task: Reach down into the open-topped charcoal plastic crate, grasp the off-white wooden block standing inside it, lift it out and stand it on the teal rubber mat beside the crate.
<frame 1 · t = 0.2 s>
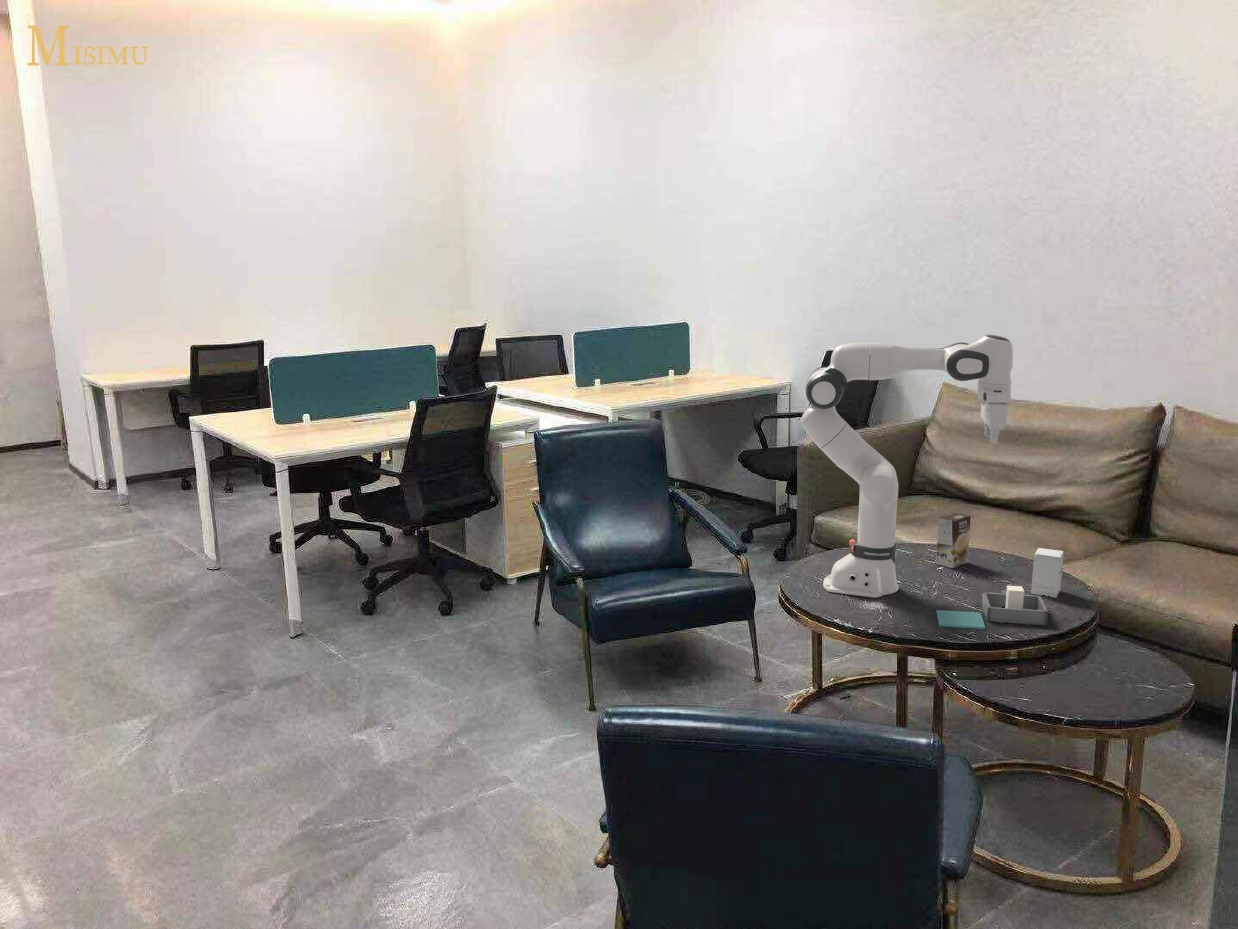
hand: (990, 439, 286), 47 cm above the table, tool pointing down, fingers open, 8 cm apart
supplement box: (1045, 593, 297), on the table
coffee box: (951, 564, 325), on the table
mat: (960, 620, 277), on the table
block: (1014, 601, 279), in the crate
crate: (1013, 615, 280), on the table
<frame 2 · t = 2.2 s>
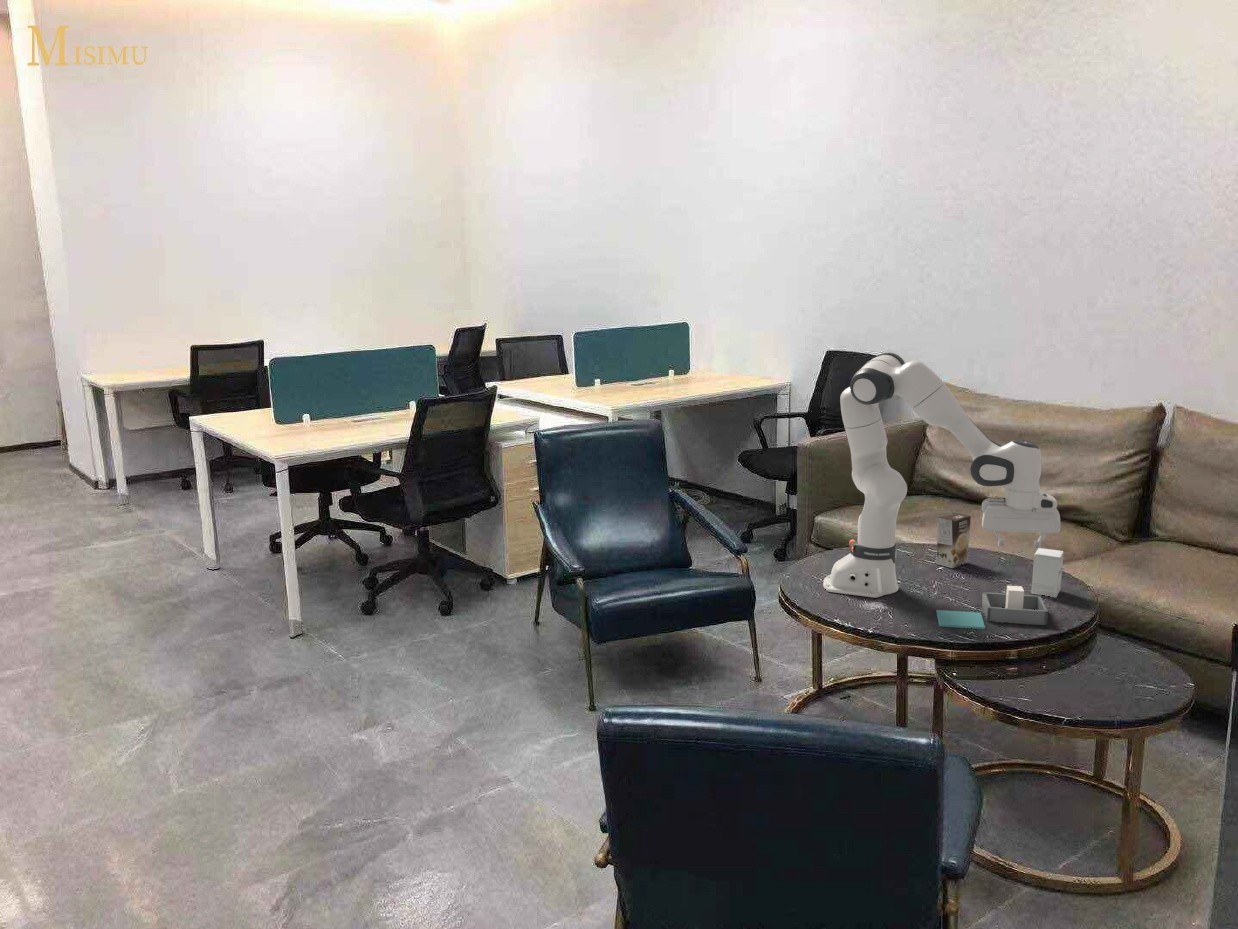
hand: (1019, 546, 275), 20 cm above the table, tool pointing down, fingers open, 8 cm apart
nothing on the table moved.
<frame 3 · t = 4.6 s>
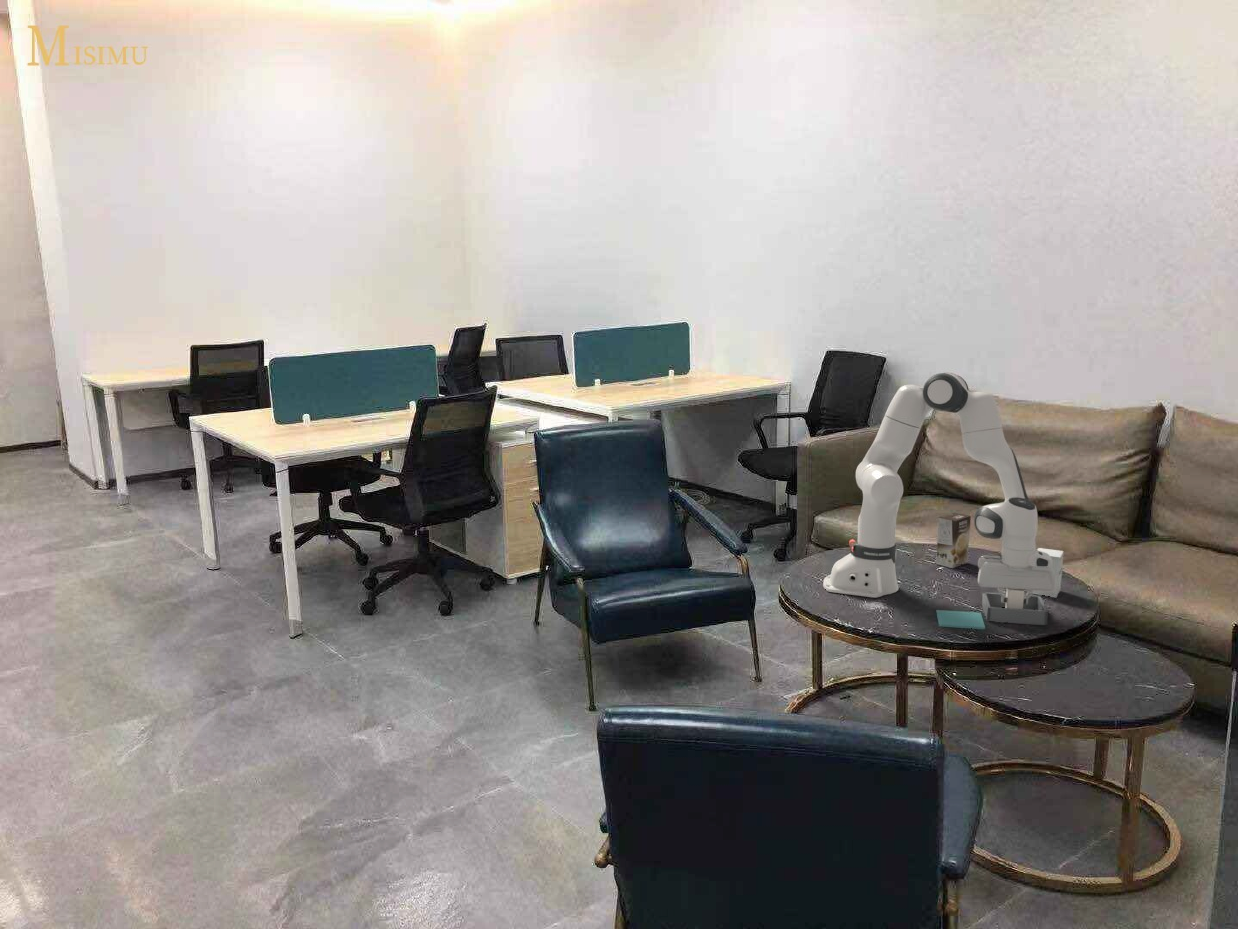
hand: (1014, 603, 279), 4 cm above the table, tool pointing down, fingers closed on block, 4 cm apart
block: (1014, 601, 279), in the crate, touching gripper
everything else where it was.
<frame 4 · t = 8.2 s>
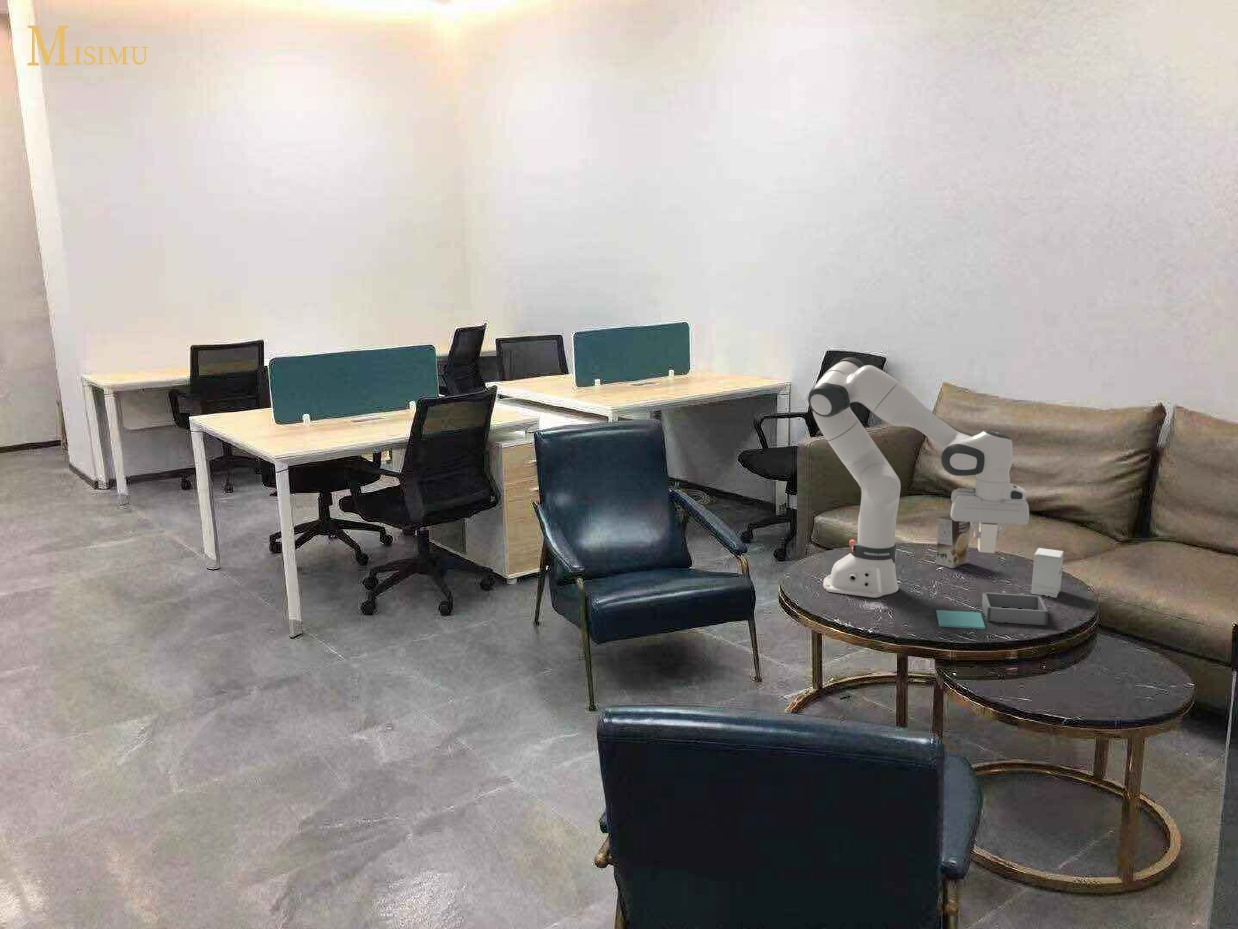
hand: (987, 538, 274), 23 cm above the table, tool pointing down, fingers closed on block, 4 cm apart
block: (987, 536, 273), point 24 cm above the table, touching gripper
everything else where it was.
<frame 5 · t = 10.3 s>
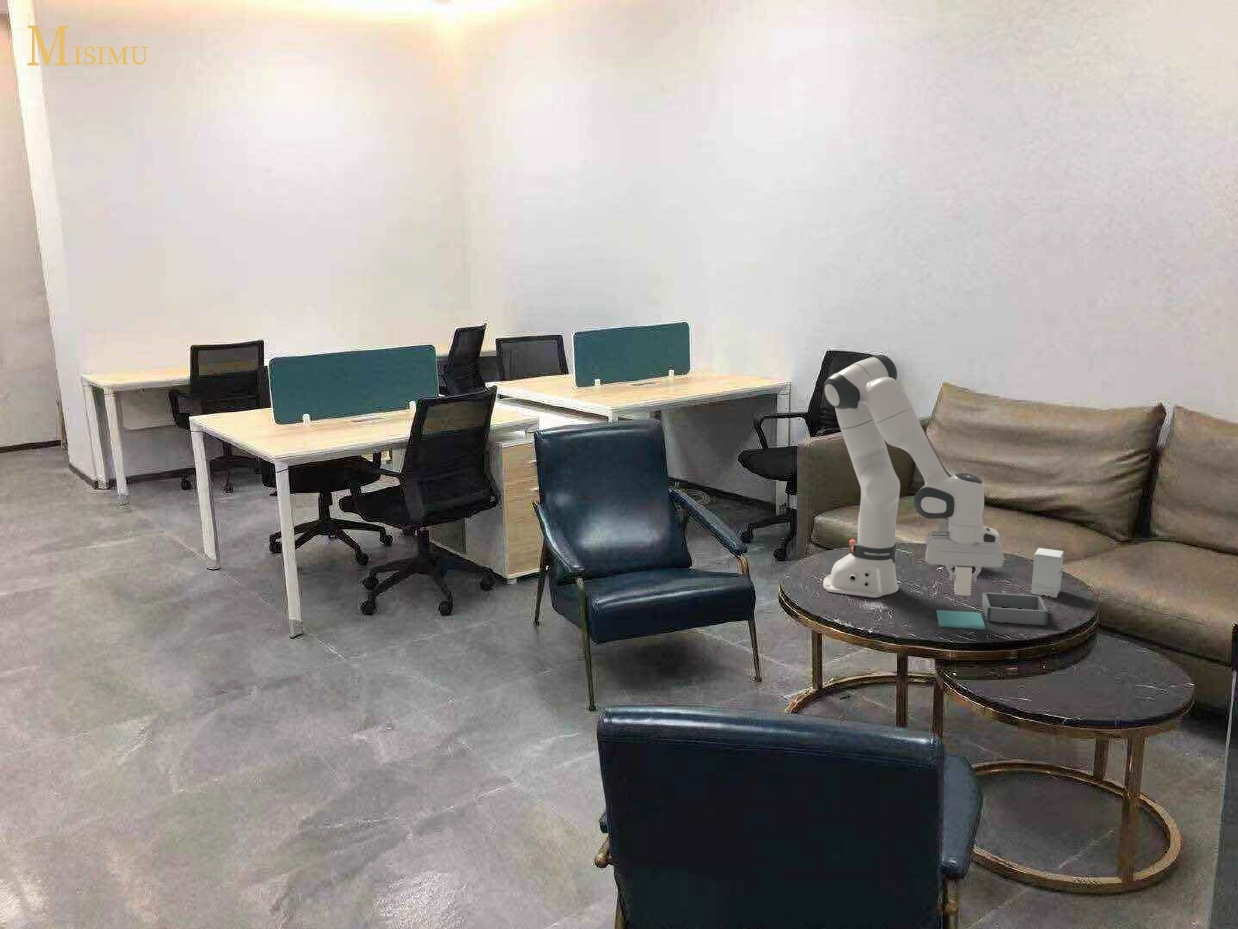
hand: (962, 580, 274), 12 cm above the table, tool pointing down, fingers closed on block, 4 cm apart
block: (962, 579, 274), point 12 cm above the table, touching gripper
everything else where it was.
when the fingers open (6 cm above the table, at t = 11.9 s): block drops 1 cm, resting on mat.
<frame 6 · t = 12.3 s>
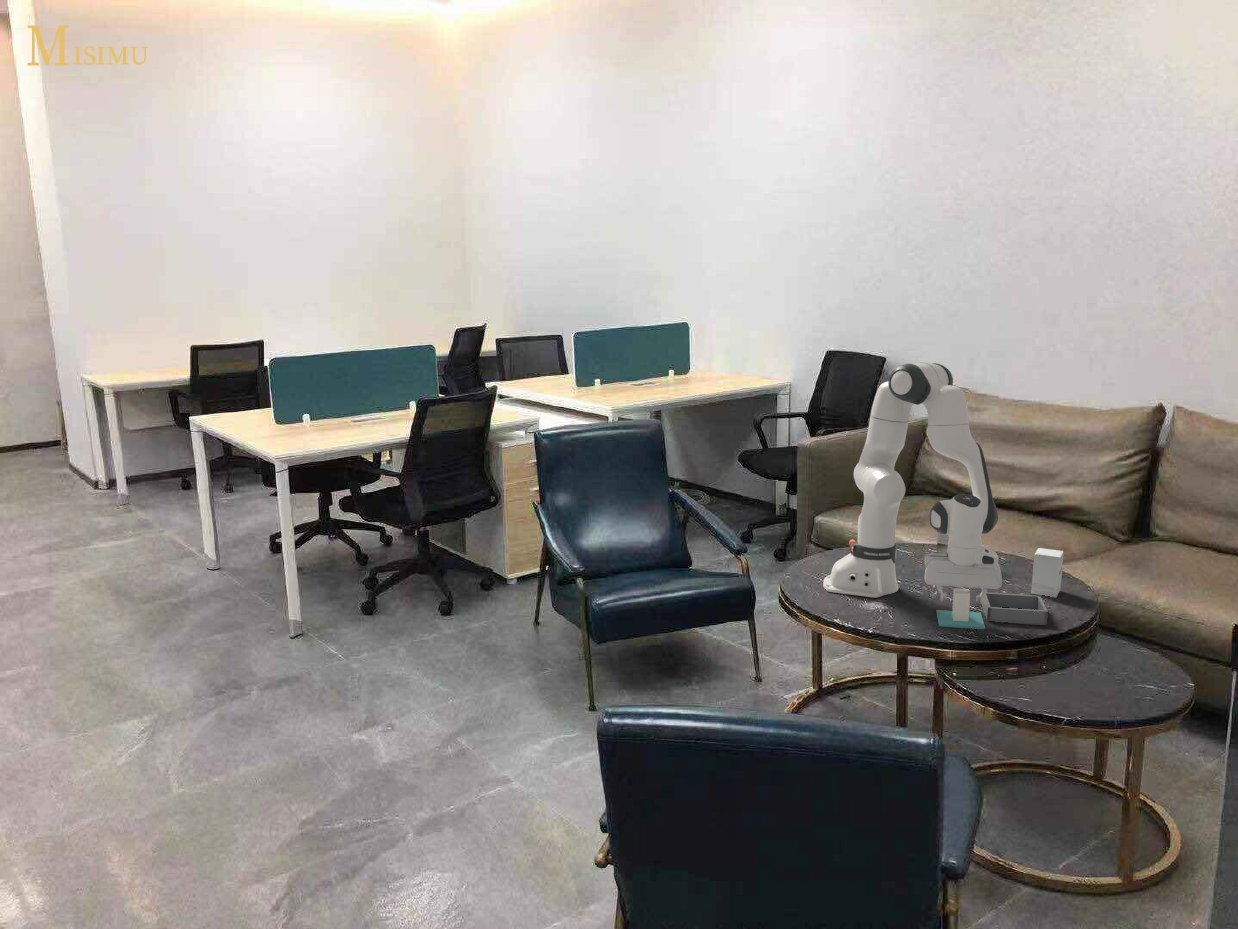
hand: (961, 601, 276), 6 cm above the table, tool pointing down, fingers open, 8 cm apart
block: (961, 604, 276), on the mat, point 5 cm above the table
everything else where it was.
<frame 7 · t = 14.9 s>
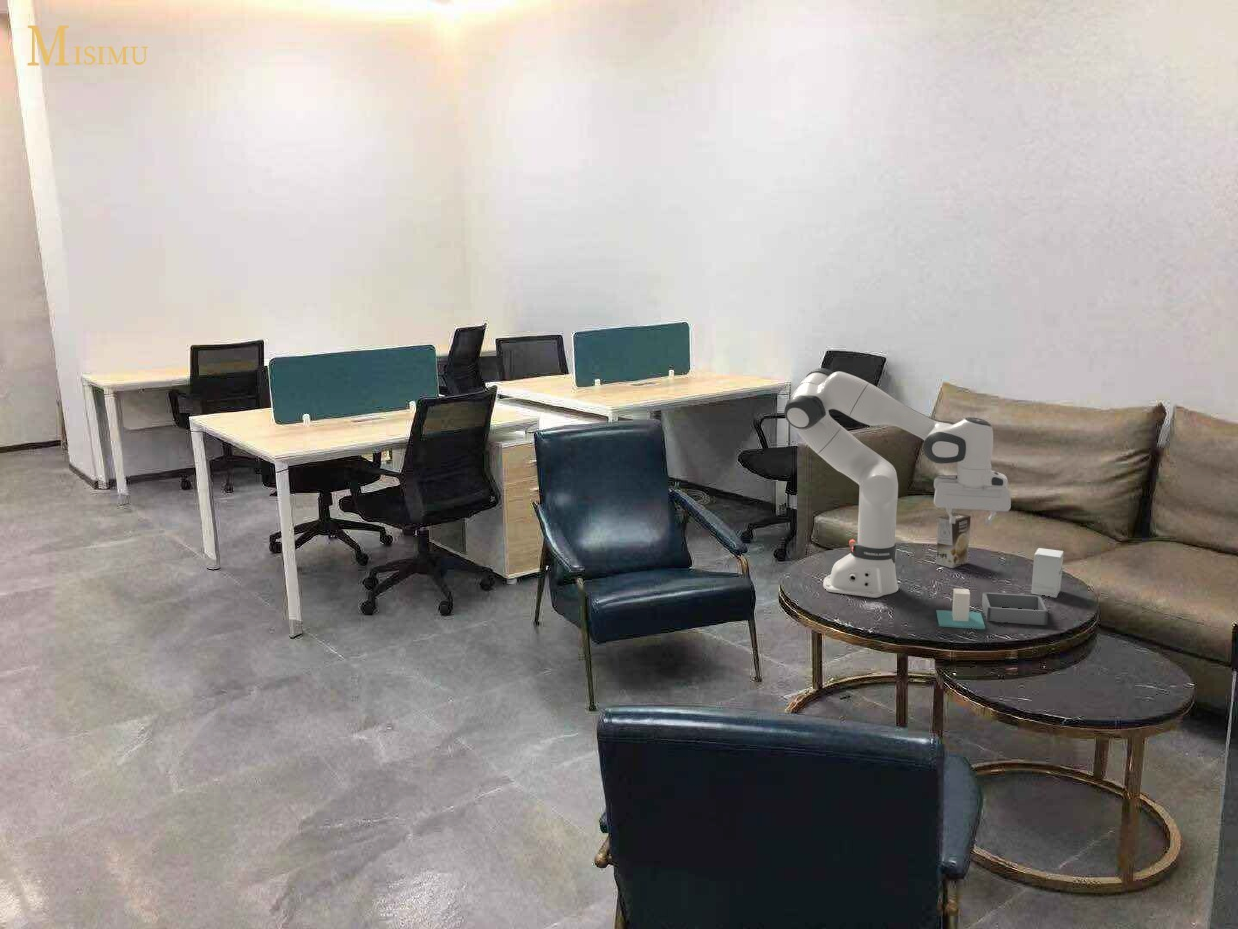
hand: (970, 524, 277), 26 cm above the table, tool pointing down, fingers open, 8 cm apart
nothing on the table moved.
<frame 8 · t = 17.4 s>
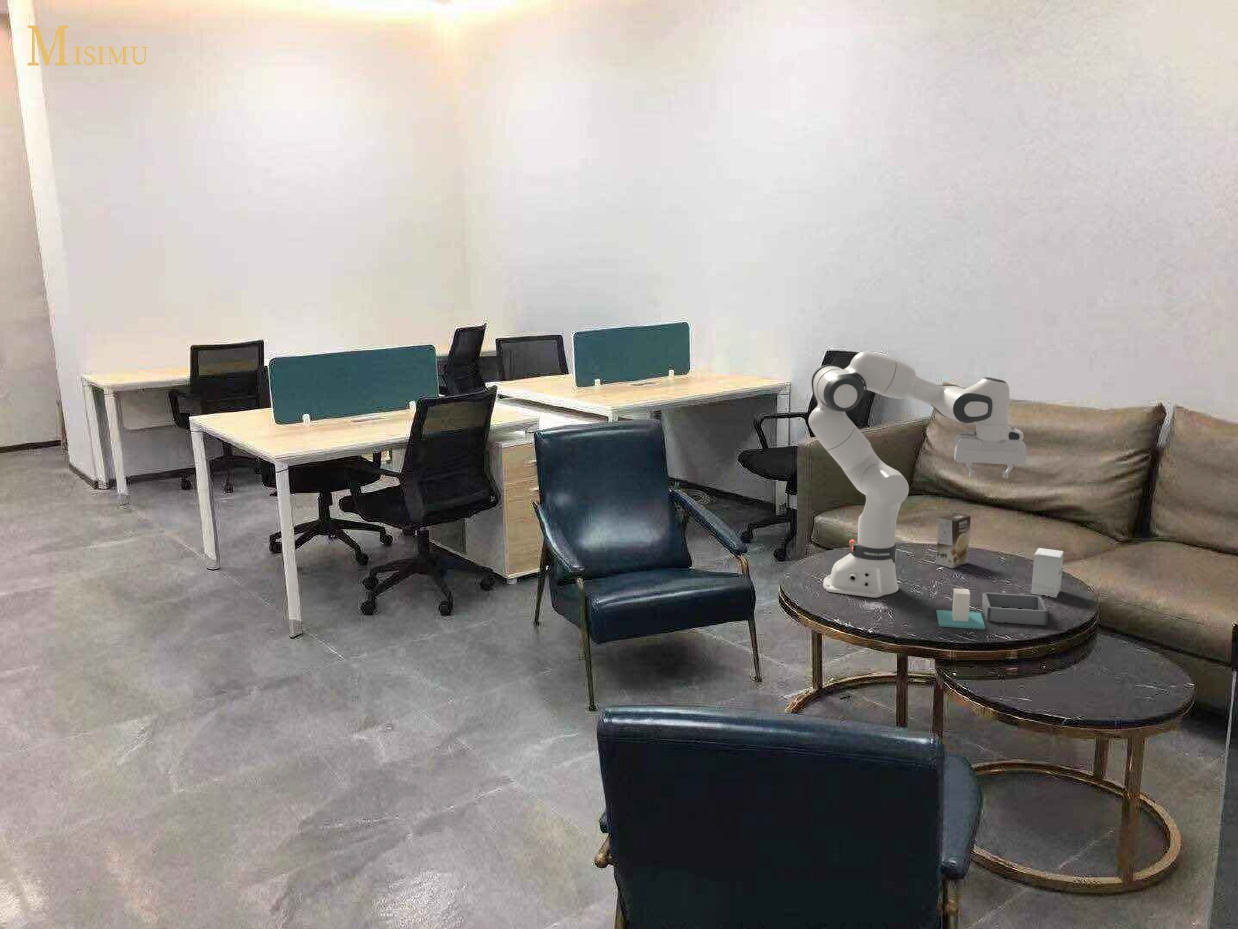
hand: (988, 477, 297), 34 cm above the table, tool pointing down, fingers open, 8 cm apart
nothing on the table moved.
at the end: block inside the target area on the mat (0.1 cm from its centre), point 4.6 cm above the mat's base; block tilted 0°; the gripper is holding nothing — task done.
